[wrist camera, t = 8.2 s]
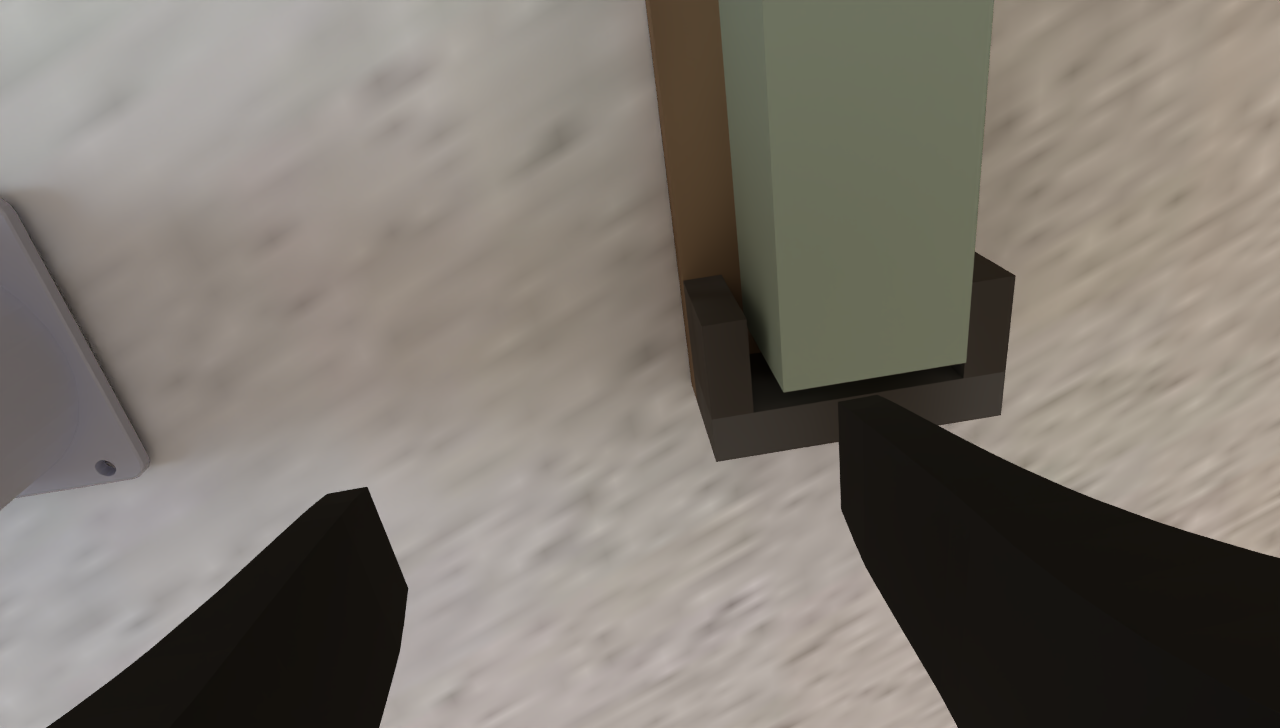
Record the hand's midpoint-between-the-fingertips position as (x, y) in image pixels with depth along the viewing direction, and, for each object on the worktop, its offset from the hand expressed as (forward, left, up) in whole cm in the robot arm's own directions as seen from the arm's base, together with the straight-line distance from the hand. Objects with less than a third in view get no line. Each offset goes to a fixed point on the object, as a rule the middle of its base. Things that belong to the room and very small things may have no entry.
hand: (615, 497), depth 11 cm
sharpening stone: (+6, +5, -8) cm, 11 cm away
